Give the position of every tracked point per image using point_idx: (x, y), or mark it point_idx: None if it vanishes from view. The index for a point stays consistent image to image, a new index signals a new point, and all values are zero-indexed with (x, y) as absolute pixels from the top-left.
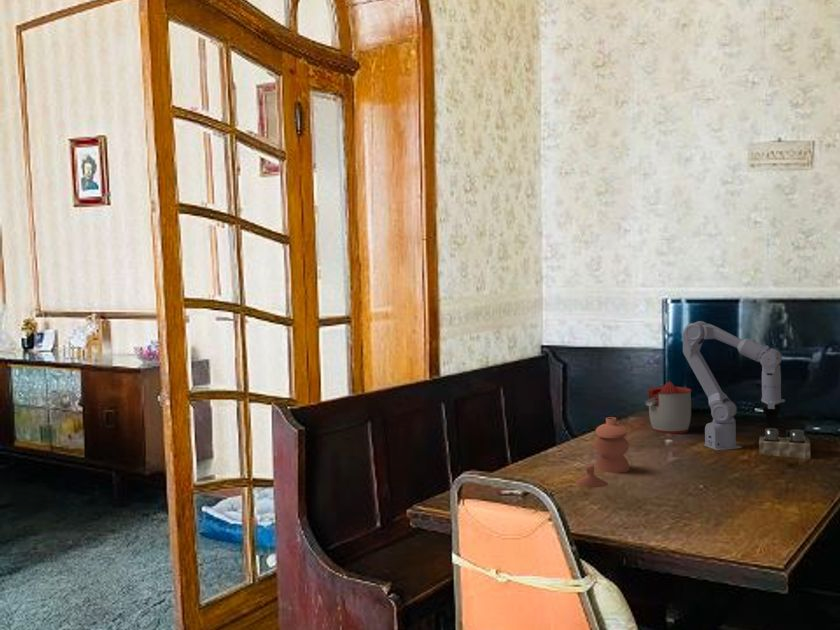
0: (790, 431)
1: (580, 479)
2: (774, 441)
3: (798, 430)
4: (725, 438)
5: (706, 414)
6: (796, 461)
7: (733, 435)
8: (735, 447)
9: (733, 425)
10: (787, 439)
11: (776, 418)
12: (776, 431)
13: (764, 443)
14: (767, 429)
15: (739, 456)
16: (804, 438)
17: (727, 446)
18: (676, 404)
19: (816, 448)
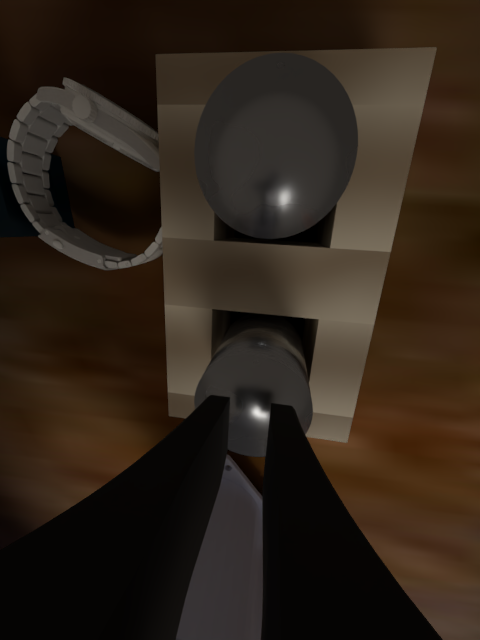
0: (287, 236)
1: None
2: (302, 349)
3: (248, 131)
4: (257, 565)
5: None
6: (407, 207)
7: (231, 548)
8: (243, 480)
9: (215, 629)
10: (218, 253)
11: (342, 503)
12: (299, 372)
13: (352, 410)
14: (255, 440)
15: (321, 458)
16: (114, 105)
17: (259, 515)
18: None
19: (34, 58)
